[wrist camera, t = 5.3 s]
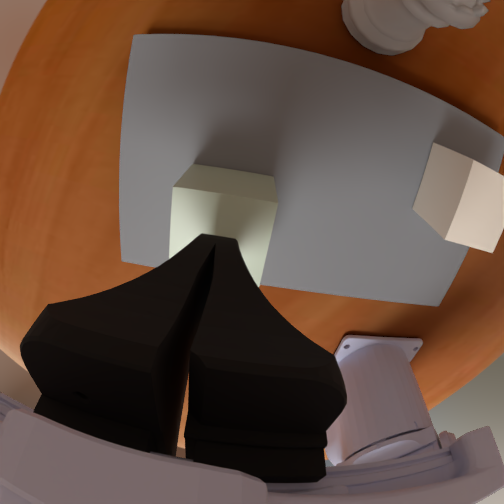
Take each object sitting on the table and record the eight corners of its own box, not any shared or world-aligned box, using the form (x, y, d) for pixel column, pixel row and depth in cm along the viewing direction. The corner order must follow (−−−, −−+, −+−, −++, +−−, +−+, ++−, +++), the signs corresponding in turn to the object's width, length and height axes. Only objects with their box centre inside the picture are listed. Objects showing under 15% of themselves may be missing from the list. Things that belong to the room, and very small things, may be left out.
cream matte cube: (459, 223, 15) (492, 253, 12) (412, 208, 15) (444, 239, 12) (479, 164, 13) (519, 185, 10) (433, 142, 13) (473, 159, 10)
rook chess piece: (322, 4, 11) (374, -59, 4) (381, -23, 9) (456, -74, 2) (372, 69, 12) (461, 60, 6) (426, 39, 11) (523, 28, 4)
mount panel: (430, 294, 20) (452, 329, 16) (130, 249, 18) (105, 285, 15) (493, 134, 13) (532, 149, 10) (144, 39, 12) (111, 26, 8)
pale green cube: (258, 247, 16) (258, 288, 13) (185, 235, 16) (168, 273, 13) (273, 176, 14) (278, 203, 11) (192, 163, 14) (172, 186, 11)
